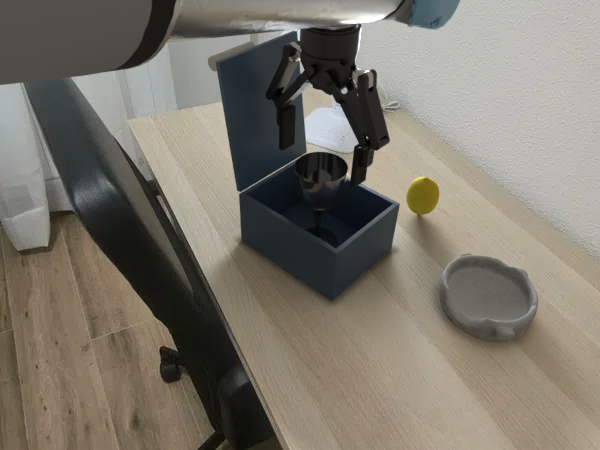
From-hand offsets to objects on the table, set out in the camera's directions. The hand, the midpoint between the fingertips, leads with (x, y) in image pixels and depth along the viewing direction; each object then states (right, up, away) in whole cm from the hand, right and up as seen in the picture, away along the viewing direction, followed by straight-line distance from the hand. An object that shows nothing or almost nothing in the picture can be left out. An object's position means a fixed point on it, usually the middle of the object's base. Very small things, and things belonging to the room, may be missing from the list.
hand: (320, 164), depth 81 cm
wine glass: (0, -12, +10) cm, 16 cm away
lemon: (+18, -7, +18) cm, 27 cm away
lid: (-8, +8, +3) cm, 12 cm away
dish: (+24, -21, +2) cm, 32 cm away
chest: (0, -12, +11) cm, 16 cm away
